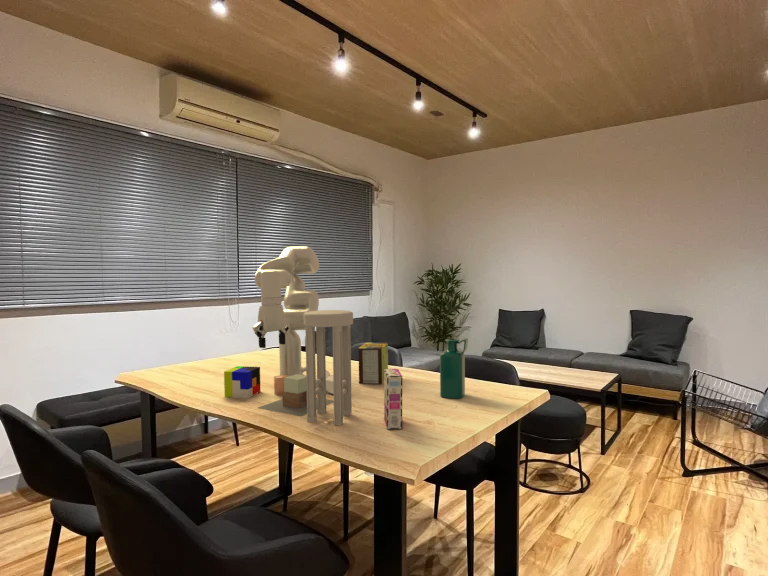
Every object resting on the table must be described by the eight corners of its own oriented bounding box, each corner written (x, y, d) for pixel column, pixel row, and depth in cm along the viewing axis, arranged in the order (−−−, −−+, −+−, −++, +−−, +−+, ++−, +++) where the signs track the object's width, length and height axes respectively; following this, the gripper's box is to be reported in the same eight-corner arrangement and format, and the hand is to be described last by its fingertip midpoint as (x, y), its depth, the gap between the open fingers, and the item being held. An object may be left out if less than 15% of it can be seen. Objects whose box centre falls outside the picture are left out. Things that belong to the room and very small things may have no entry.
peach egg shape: (281, 391, 185) (281, 374, 185) (291, 393, 183) (291, 375, 182) (271, 395, 181) (271, 377, 180) (282, 396, 178) (281, 378, 178)
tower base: (296, 400, 171) (296, 387, 171) (312, 403, 167) (312, 389, 167) (282, 405, 164) (282, 391, 164) (298, 408, 161) (298, 394, 160)
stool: (359, 412, 157) (357, 310, 155) (345, 427, 142) (343, 314, 140) (316, 409, 160) (314, 309, 159) (298, 424, 145) (296, 313, 144)
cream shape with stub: (349, 400, 183) (323, 381, 191) (355, 381, 181) (328, 363, 189) (335, 405, 176) (308, 386, 184) (340, 386, 174) (313, 367, 182)
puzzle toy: (248, 398, 177) (247, 372, 176) (224, 397, 179) (224, 371, 178) (260, 391, 186) (259, 366, 186) (237, 390, 188) (237, 366, 188)
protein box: (388, 376, 210) (388, 342, 210) (382, 384, 195) (381, 348, 194) (366, 375, 212) (365, 342, 211) (358, 383, 197) (357, 347, 196)
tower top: (296, 387, 170) (296, 374, 170) (310, 389, 167) (310, 376, 167) (284, 391, 164) (284, 377, 164) (298, 393, 161) (298, 379, 161)
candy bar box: (403, 429, 139) (402, 375, 139) (387, 430, 139) (386, 376, 138) (399, 417, 151) (398, 368, 150) (383, 418, 150) (383, 368, 149)
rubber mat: (295, 395, 179) (295, 394, 179) (336, 402, 169) (336, 401, 169) (257, 409, 162) (257, 407, 162) (300, 417, 152) (300, 416, 152)
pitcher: (439, 397, 174) (438, 339, 173) (444, 392, 182) (443, 336, 181) (465, 399, 170) (464, 340, 169) (469, 394, 178) (468, 337, 177)
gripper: (282, 300, 188) (283, 342, 189) (246, 303, 174) (247, 348, 175) (294, 300, 183) (295, 343, 184) (259, 304, 169) (260, 350, 170)
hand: (272, 345), depth 179 cm, fingers open, 9 cm apart
